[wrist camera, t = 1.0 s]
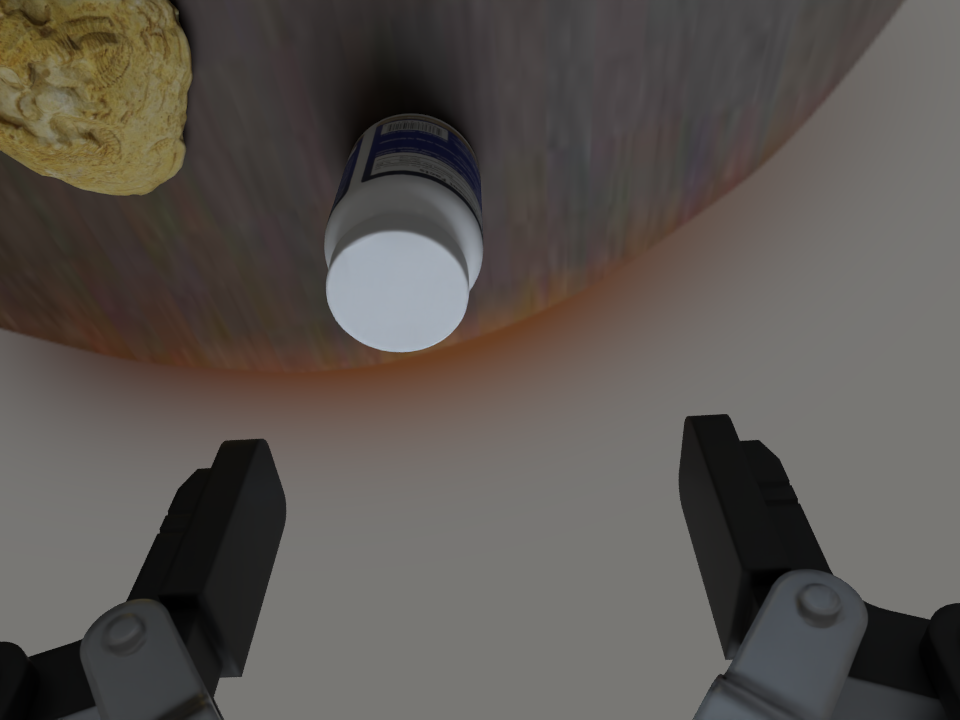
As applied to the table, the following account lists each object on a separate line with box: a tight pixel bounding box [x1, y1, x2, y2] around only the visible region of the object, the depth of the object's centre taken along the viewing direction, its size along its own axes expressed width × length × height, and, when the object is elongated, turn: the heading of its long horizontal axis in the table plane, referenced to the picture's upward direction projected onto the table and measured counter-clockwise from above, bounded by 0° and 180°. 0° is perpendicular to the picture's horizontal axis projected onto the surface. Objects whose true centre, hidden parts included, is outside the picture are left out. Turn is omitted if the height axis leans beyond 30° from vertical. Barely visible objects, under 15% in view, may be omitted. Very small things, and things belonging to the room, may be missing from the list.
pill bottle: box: [324, 113, 483, 352], centre depth 28 cm, size 6×6×10 cm
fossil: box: [0, 0, 193, 196], centre depth 28 cm, size 11×6×10 cm
